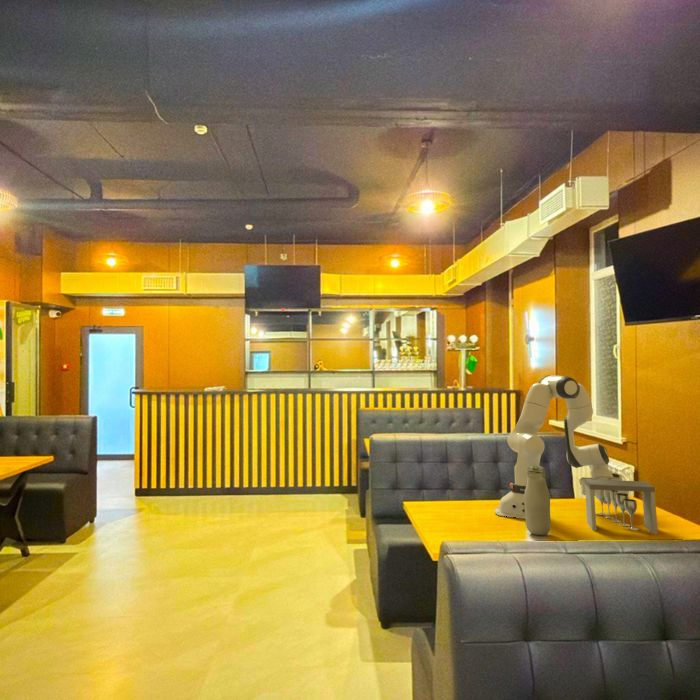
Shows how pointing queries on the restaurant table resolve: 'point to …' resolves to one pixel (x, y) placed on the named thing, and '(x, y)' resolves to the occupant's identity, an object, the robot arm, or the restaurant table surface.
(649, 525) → the low table
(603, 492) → the goblet set
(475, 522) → the restaurant table surface
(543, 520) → the grey bottle
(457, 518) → the restaurant table surface
